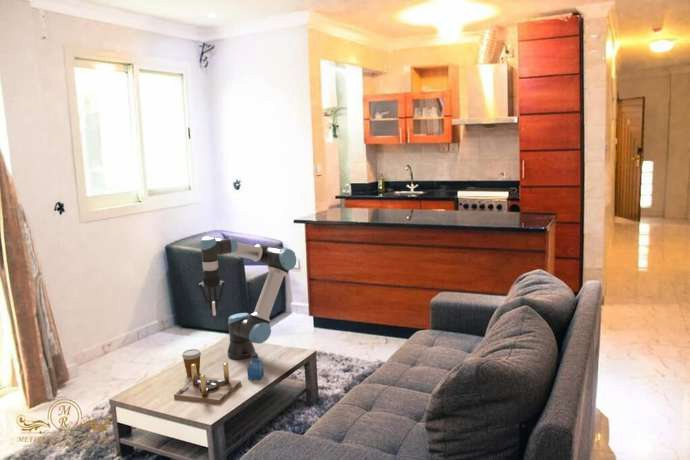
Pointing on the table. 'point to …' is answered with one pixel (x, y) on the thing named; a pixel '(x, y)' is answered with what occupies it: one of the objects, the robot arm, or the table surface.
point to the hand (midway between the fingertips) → (214, 314)
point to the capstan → (209, 380)
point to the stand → (213, 396)
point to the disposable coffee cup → (191, 360)
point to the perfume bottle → (255, 368)
